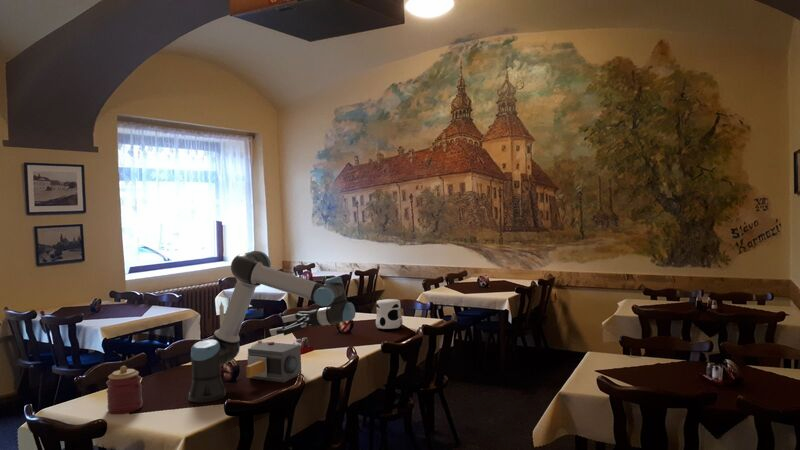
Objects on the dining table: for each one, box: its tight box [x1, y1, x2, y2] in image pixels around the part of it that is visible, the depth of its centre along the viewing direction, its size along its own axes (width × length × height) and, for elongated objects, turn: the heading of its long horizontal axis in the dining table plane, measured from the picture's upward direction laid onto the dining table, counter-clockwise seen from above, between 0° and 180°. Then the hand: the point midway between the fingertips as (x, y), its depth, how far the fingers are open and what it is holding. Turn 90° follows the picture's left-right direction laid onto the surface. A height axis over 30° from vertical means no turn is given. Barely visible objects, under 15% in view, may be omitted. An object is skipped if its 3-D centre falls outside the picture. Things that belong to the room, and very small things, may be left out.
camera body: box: [247, 341, 302, 383], centre depth 272 cm, size 15×22×15 cm
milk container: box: [375, 298, 403, 331], centre depth 369 cm, size 17×17×18 cm
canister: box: [105, 365, 144, 415], centre depth 234 cm, size 13×13×18 cm
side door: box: [245, 355, 267, 379], centre depth 262 cm, size 12×10×9 cm
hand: (276, 326), depth 254 cm, fingers open, 13 cm apart
